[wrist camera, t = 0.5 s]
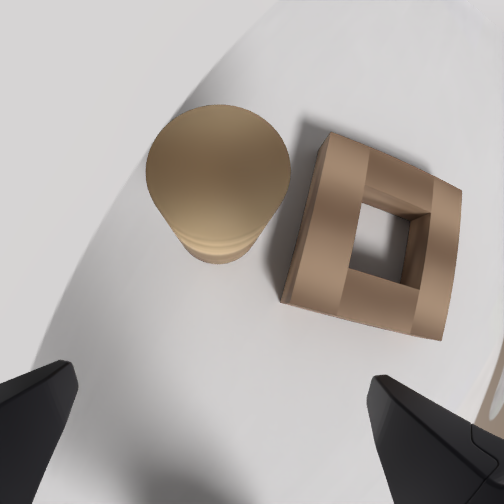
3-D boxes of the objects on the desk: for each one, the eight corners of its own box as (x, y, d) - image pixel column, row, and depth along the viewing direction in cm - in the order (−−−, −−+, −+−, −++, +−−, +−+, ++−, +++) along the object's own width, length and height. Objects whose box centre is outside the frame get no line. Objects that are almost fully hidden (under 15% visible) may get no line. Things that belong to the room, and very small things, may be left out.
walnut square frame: (419, 337, 23) (441, 341, 20) (280, 302, 22) (289, 303, 19) (441, 200, 25) (461, 190, 22) (318, 149, 24) (330, 131, 21)
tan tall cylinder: (252, 268, 22) (297, 233, 9) (187, 272, 22) (145, 242, 9) (247, 206, 23) (282, 104, 10) (185, 209, 22) (148, 109, 9)
